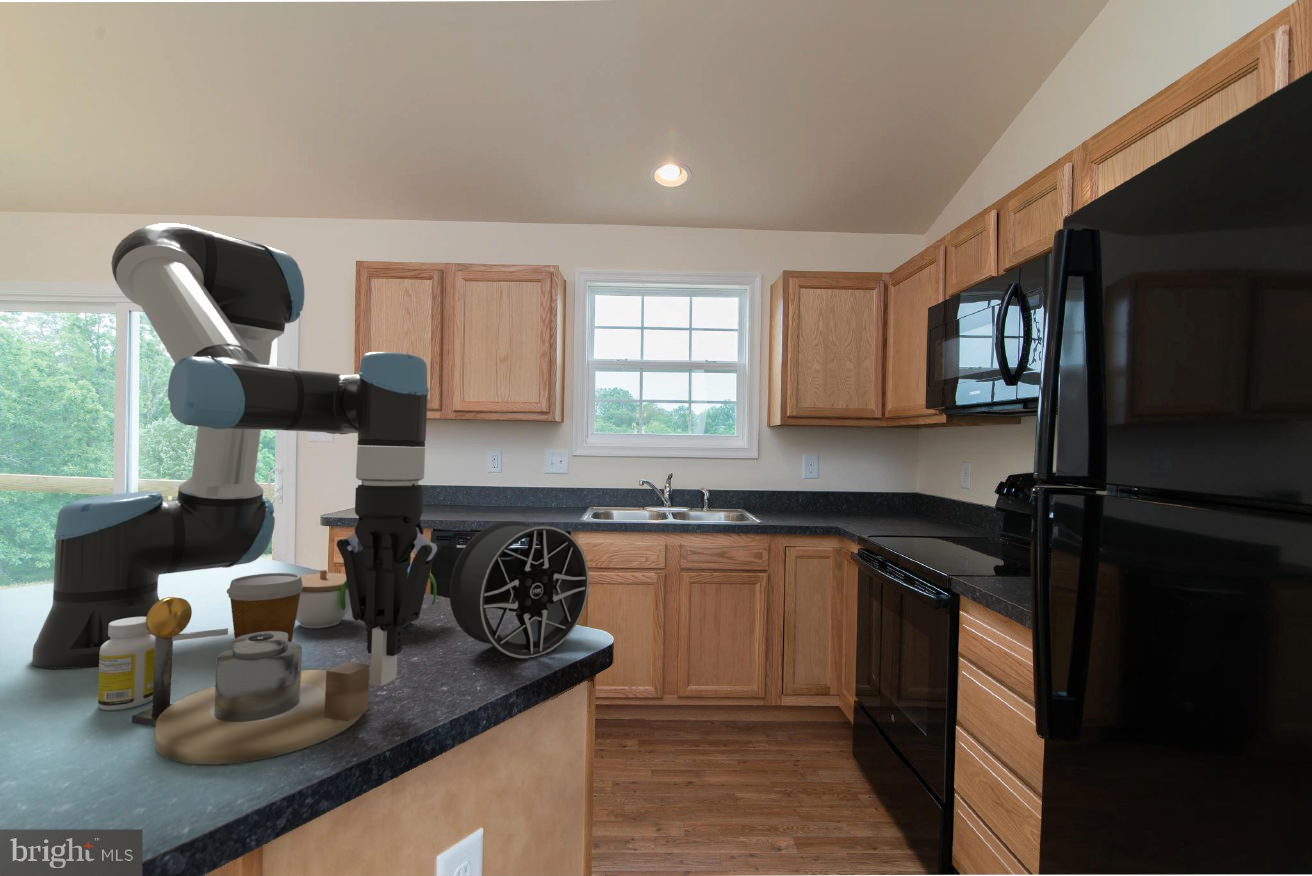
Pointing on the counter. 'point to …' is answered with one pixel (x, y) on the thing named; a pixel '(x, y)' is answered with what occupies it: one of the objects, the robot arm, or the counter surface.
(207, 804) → the counter surface
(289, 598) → the disposable coffee cup
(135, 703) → the supplement bottle
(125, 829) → the counter surface
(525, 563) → the wheel rim
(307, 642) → the counter surface
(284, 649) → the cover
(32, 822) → the counter surface
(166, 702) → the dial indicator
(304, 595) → the lidded jar
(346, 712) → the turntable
